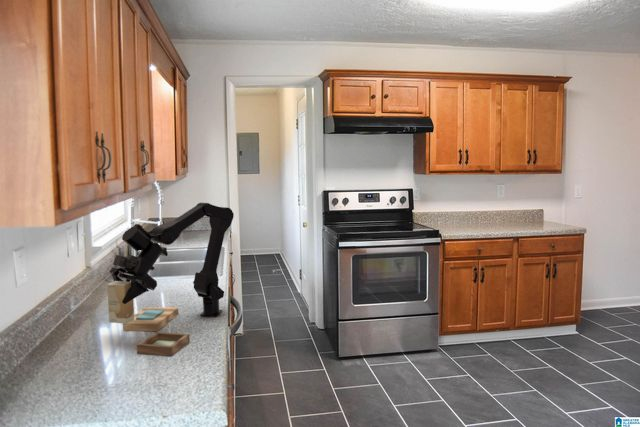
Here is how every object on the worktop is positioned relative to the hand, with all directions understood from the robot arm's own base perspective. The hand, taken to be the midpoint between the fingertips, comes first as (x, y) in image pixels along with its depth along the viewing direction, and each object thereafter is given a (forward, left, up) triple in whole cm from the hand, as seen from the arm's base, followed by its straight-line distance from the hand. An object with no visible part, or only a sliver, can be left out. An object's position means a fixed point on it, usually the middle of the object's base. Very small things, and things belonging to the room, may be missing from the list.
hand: (116, 301), depth 156 cm
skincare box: (-1, +1, -7) cm, 7 cm away
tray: (+3, +16, -13) cm, 21 cm away
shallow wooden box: (-20, +2, -13) cm, 24 cm away
